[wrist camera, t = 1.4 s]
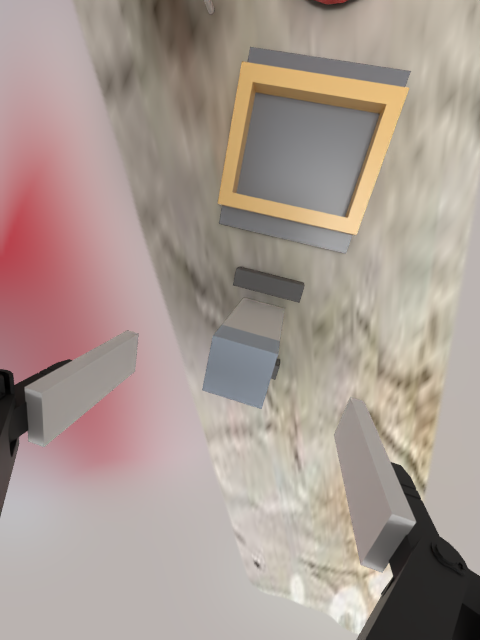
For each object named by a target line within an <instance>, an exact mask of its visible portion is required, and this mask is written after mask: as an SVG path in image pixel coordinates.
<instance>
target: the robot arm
mask: <svg viewBox="0 0 480 640" xmlns="http://www.w3.org/2000/svg"><path fill="white" fill-rule="evenodd" d="M137 345H138V333H135V332H131V331H128V330H127V331H125V332H123V333H122V334H120V335H118V336H116V337H114V338H113V339H111V340H109V341H107V342H105V343H104V344H102V345H100V346H98V347H96V348H94V349H93V350H91V351H89V352H87V353H85V354H84V355H82V356H80V357H78V358H76V359H75V360H70V359H69V360H65V361H61V362H58V363H56V364H54V365H52V366H50V367H48V368H47V369H44V370H42V371H40V372H39V373H37V374H35V375H33V376H31V377H29V378H27V379H25V380H23V381H21V382H19V383H18V384H16V385H14V378H13V373H12V372H10V371H8V370H3V369H0V516H1V512H2V508H3V504H4V500H5V496H6V492H7V489H8V484H9V481H10V477H11V473H12V469H13V466H14V462H15V458H16V454H17V450H18V446H19V436H21V435H22V434H23V433H25V432H26V431H28V441H29V442H32V443H34V444H37V445H40V446H42V447H45V446H46V445H48V444H49V443H50V442H51V441H52V440H54V439H55V438H56V437H57V436H58V435H60V433H62V432H63V431H64V430H65V429H67V428H68V427H69V426H70V425H71V424H73V423H74V422H75V421H76V420H77V419H79V418H80V417H81V416H82V415H83V414H85V413H86V412H87V411H88V410H89V409H91V408H92V407H93V406H94V405H95V404H96V403H98V402H99V401H100V400H101V399H102V398H104V397H105V396H106V395H107V394H108V393H110V392H111V391H112V390H113V389H114V388H115V387H117V386H118V385H119V384H120V383H122V382H123V381H124V380H125V379H126V378H128V377H129V376H130V375H131V374H132V373H134V372H135V366H136V355H137ZM334 437H335V442H336V447H337V452H338V457H339V462H340V467H341V471H342V476H343V481H344V486H345V491H346V496H347V501H348V506H349V511H350V515H351V520H352V525H353V530H354V535H355V540H356V545H357V550H358V555H359V559H360V564H361V565H363V566H366V567H368V568H371V569H374V570H376V571H379V572H383V571H384V569H385V568H386V566H387V565H388V563H390V567H391V570H392V573H393V577H392V579H391V580H390V582H389V583H388V584H387V586H386V587H385V589H384V590H383V592H382V593H381V595H382V596H381V598H380V599H379V601H378V603H377V605H376V606H375V608H374V610H373V612H372V613H371V615H370V617H369V619H368V620H367V622H366V624H365V626H364V627H363V629H362V631H361V633H360V634H359V636H358V638H357V640H480V576H479V575H477V574H476V573H474V572H472V571H471V570H470V569H468V567H467V565H466V563H465V561H464V560H463V558H462V557H461V555H460V554H459V553H458V552H457V551H456V550H455V549H454V548H453V547H452V546H451V545H450V544H449V543H448V542H447V541H445V540H444V539H443V538H441V537H440V536H439V534H438V532H437V531H436V528H435V526H434V524H433V522H432V520H431V518H430V516H429V514H428V512H427V510H426V508H425V506H424V504H423V502H422V501H421V498H420V495H419V493H418V491H416V487H415V485H414V483H413V481H412V479H411V477H410V476H409V475H408V473H407V472H406V471H405V470H404V469H403V467H402V466H401V465H398V464H395V463H392V462H390V460H389V458H388V455H387V453H386V451H385V448H384V446H383V444H382V441H381V439H380V437H379V434H378V432H377V430H376V427H375V425H374V423H373V421H372V418H371V416H370V414H369V411H368V409H367V407H366V404H365V402H364V401H362V400H359V399H356V398H352V397H350V399H349V401H348V404H347V406H346V408H345V410H344V413H343V415H342V417H341V420H340V422H339V424H338V426H337V429H336V431H335V433H334Z"/></svg>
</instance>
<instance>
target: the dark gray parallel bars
mask: <svg viewBox="0 0 480 640" xmlns="http://www.w3.org/2000/svg"><path fill="white" fill-rule="evenodd" d="M233 285H234V286H238V287H242V288H246V289H249V290H253V291H257V292H261V293H265V294H268V295H272V296H276V297H280V298H284V299H287V300H291V301H295V302H300V299H301V296H302V292H303V289H304V283H303V282H299V281H295V280H291V279H287V278H283V277H279V276H275V275H271V274H267V273H263V272H259V271H255V270H251V269H247V268H244V267H238V268H237V269H236V273H235V278H234V283H233ZM279 365H280V359H277V360H276V363H275V366H274V370H273V373H272V376H271V379H274V380H275V379H276V376H277V372H278V369H279Z"/></svg>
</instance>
